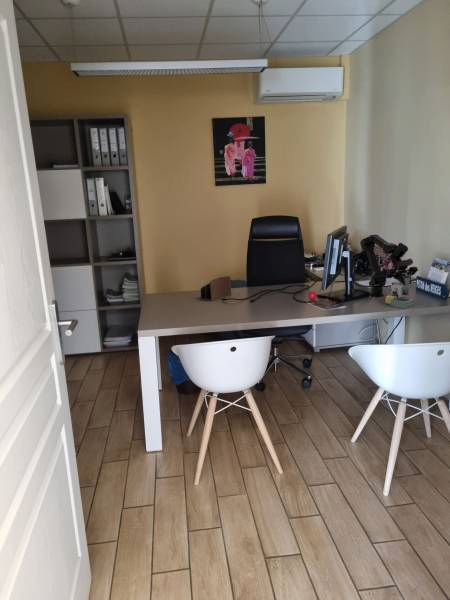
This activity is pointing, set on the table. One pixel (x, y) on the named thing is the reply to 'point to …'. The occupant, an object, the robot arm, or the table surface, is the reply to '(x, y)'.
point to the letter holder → (216, 289)
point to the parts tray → (402, 302)
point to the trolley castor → (398, 293)
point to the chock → (389, 299)
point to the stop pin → (406, 284)
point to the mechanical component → (398, 284)
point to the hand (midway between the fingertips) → (407, 284)
